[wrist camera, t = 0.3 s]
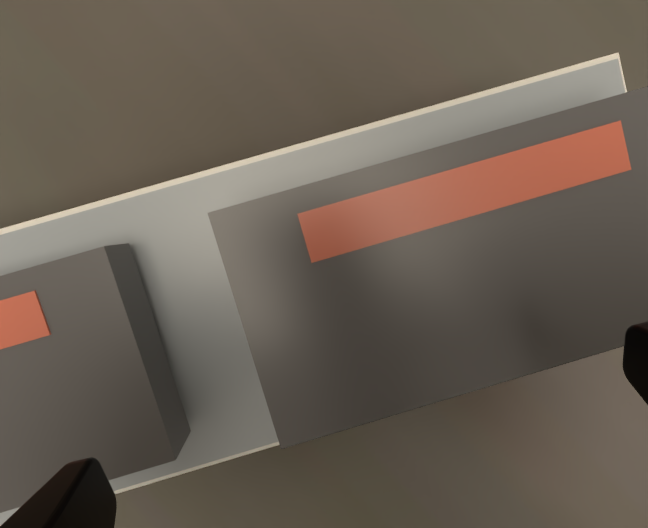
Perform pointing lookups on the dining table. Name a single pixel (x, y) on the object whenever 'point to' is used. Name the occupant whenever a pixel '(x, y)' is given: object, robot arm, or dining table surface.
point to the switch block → (206, 263)
